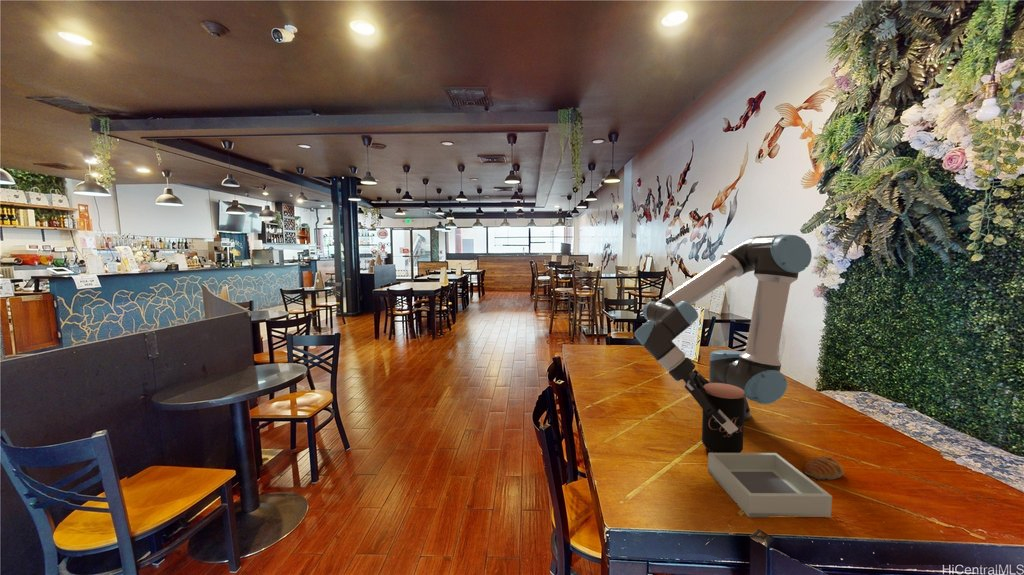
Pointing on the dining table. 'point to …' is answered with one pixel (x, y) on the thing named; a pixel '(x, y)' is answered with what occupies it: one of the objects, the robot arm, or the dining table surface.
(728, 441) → the coffee jar
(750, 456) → the tray
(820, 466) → the pastry
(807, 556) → the dining table surface
